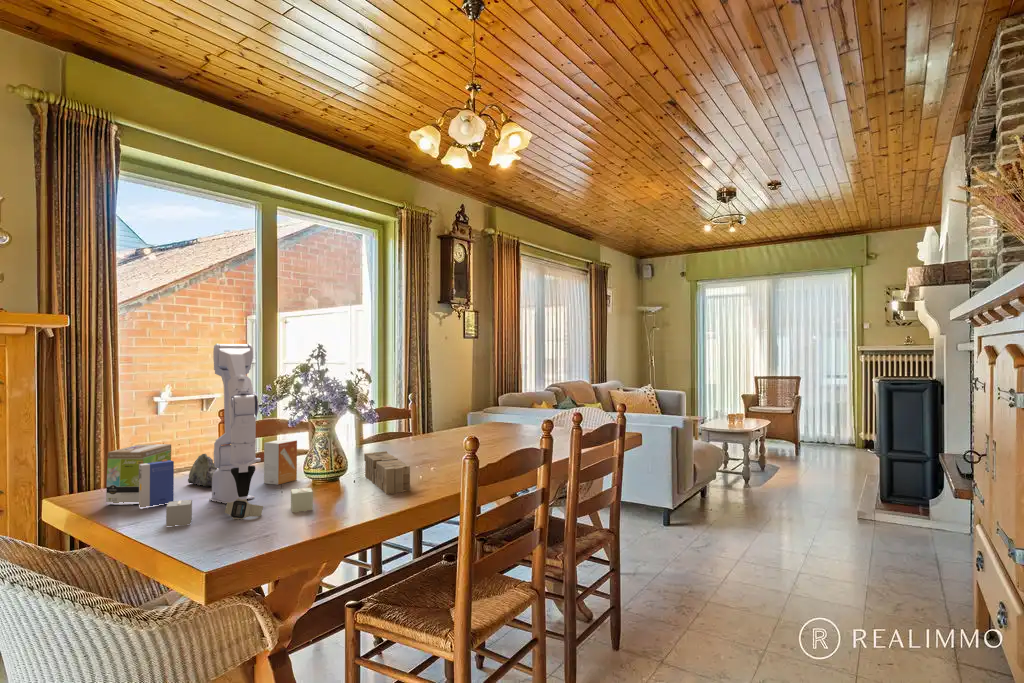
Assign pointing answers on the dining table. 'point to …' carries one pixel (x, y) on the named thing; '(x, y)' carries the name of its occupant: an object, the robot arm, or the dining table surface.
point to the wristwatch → (242, 509)
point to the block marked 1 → (179, 513)
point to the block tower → (387, 472)
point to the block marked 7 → (301, 499)
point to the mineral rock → (202, 471)
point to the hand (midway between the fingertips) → (243, 496)
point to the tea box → (131, 469)
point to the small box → (280, 461)
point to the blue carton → (156, 483)
